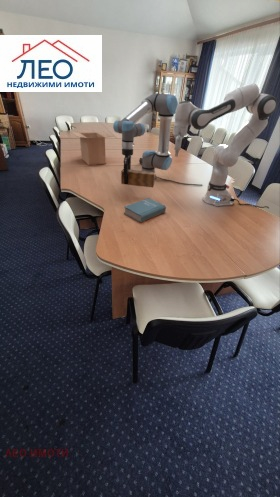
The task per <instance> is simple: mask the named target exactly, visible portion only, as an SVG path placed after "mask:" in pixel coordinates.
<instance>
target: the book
mask: <svg viewBox="0 0 280 497" xmlns="http://www.w3.org/2000/svg"><path fill="white" fill-rule="evenodd" d="M166 209H167V207H166V205H165V204H162V203H161V202H159V201H156V200H154V199H152V198H151V197H148V198H145V199H142V200H139V201H136V202H134V203H131V204H127V205H125V206H124V212H123V214H124V215H126V216H128V217H130V219H133V220H134V221H137V222H138V223H143V222H145V221H147V220H150V219H152V218H154V217H156V216H158V215H161V214H164V213H166Z"/></svg>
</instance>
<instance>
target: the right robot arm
mask: <svg viewBox="0 0 280 497" xmlns="http://www.w3.org/2000/svg"><path fill="white" fill-rule="evenodd" d="M259 88H260V87H259V86H258V84H256V83H249V84H245V85H242V86H239V87H237V88H234V89H232V90H231V91H229V92H228V93H227V94H225V96H224V97H223V101H222V102H220V103H219V104H217V105H215V106H213V107H211V108H209V109H202V108H199V107H197V106H196V105H194V104H193V103H192V102H191V101H190V100H183V101H182V100H181V101H180V102H178V105H177V108H176V113H175V114H174V123H173V127H172V128H173V129H172V135H174V136H173V138H175V139H174V140H175V142H174V151H175V152H174V157H176V158H178V156H179V151H181V148H182V142H183V139H184V138H185V136H187V135H188V130H189V129H188V128H189V126H191V127H193V129H195V130H197V131H201V130H204V129H205V128H206V127H208V125H210V124H211V123H212V122H214V121H216V120H217V119H220V118H222V117H223V116H225V115H228V114H230V113H234V112H237V111H240V110H242V109H244V108H245V110H246V111H247V112H248V113H249V114H251V117H250V119H249V120H248V121H247V122H246V123H245V124H244V125H243V126H242V127H241V128H240V129H239V130H238V131H237V132H235V134H234V135H233V137H232V139H231V141H230V142H229V143H228V144H227V145H226V144H219V145H217V146H215V148H214V149H213V154H212V155H213V160H212V171H211V174H210V175H211V176H210V180H209V182H208V185H207V189H206V192H205V194H204V197H203V199H202V200H203V201H204V202H205V203H206V204H209V205H213V206H215V207H224V206H225V207H226V206H233V205H234V202H235V201H236V202H238V205H239V206H252V207H255V208H258V209H259V208H260V209H263V208H266V209H270V207H269V206H268V205H267V206H266V205H264V206H260V205H259V206H258V205H255V204H251V203H240V200H239V199H237V198H235V196H232V194H231V193H230V192H229V190H228V189H230V185H228V184H227V179H228V175H229V168H232V167H234V166H235V165H236V164H237V163H238V161H239V157H240V156H241V154H242V153H243V151H244V150H245V149H246V148H247V147H249V145H250V144H251V143H252V142H253V141H254V140H256V139H257V138H258V136H260V134H262V132H263V131H264V130H265V128H266V127H267V126H268V124H269V121H268V120H269V119H270V118H271V117H272V115H273V114H274V112H275V111H276V109H277V107H278V100H277V98H276V97H275V96H274V95H272V94H268V93H260V89H259Z"/></svg>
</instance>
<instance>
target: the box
mask: <svg viewBox="0 0 280 497" xmlns="http://www.w3.org/2000/svg"><path fill="white" fill-rule="evenodd" d="M70 133H71V134H72V135H74V136H75V137H77V138H79V144H80V153H81V160H83V162H85V163H86V165H87V166H95V165H97V166H98V165H106V163H107V162H106V158H107V157H106V138H113V137H114V136H113V135H111V134H109V133H108V132H105V131H98V132H96V131H95V130H92V129H91V130H77V132H76V131H70Z"/></svg>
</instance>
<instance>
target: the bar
mask: <svg viewBox="0 0 280 497" xmlns="http://www.w3.org/2000/svg"><path fill="white" fill-rule="evenodd" d="M123 174H124V168H122V170H121V172H120V176H121V177H120V183H121V185H127V186H128V185H129V186H135V187H136V186H137V187H146V188H154V186H155V180H156V178H155V174H156V171H155V172H147V171H141V170H139V169H138V170H137V169H131V170H128V184H124V175H123Z"/></svg>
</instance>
